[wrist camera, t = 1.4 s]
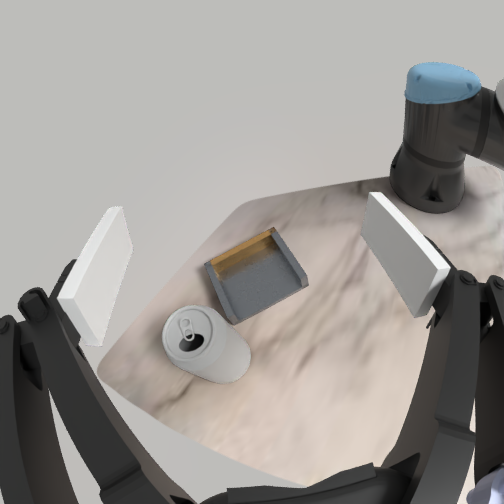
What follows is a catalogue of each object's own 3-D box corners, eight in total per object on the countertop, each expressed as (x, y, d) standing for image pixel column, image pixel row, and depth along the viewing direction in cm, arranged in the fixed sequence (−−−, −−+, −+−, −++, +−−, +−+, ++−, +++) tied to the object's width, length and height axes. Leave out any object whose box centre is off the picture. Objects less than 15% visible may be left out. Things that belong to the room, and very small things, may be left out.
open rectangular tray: (277, 238, 46) (273, 226, 43) (308, 285, 40) (306, 275, 38) (211, 273, 45) (204, 263, 43) (234, 325, 39) (227, 318, 37)
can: (207, 391, 35) (161, 375, 25) (196, 343, 39) (151, 311, 30) (259, 375, 34) (229, 354, 25) (243, 326, 39) (212, 288, 29)
